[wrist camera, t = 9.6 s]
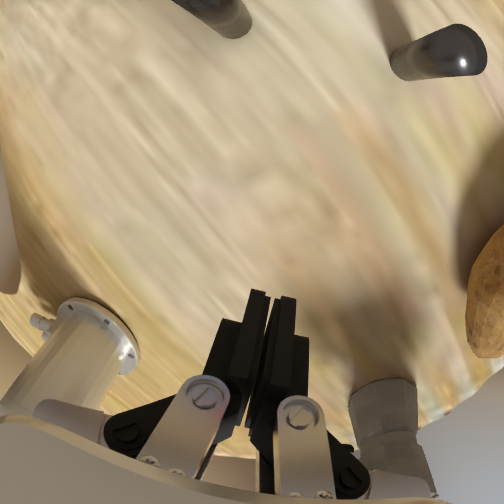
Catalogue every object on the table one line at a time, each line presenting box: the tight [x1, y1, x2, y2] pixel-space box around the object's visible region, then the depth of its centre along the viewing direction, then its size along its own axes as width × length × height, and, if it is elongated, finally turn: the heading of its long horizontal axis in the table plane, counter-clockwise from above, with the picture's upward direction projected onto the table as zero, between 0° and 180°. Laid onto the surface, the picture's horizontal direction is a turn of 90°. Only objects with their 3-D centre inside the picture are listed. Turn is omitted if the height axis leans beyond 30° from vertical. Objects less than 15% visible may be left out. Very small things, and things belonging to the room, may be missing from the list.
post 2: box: [390, 24, 487, 81], centre depth 12 cm, size 3×3×9 cm
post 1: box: [172, 0, 252, 39], centre depth 13 cm, size 3×3×9 cm
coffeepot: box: [342, 378, 439, 499], centre depth 25 cm, size 15×9×18 cm, turn 75°
